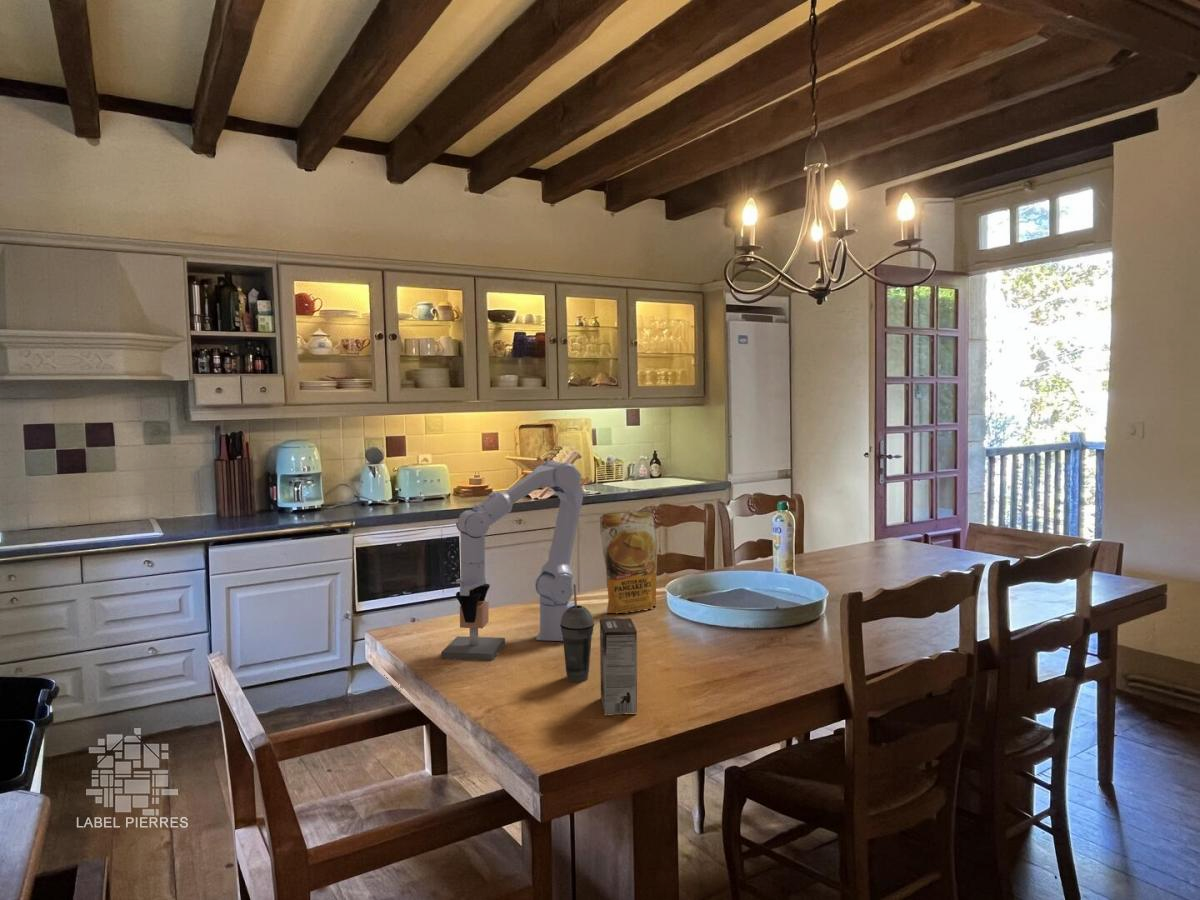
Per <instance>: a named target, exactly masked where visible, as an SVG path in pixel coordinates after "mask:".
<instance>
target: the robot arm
mask: <svg viewBox="0 0 1200 900" xmlns="http://www.w3.org/2000/svg"><path fill="white" fill-rule="evenodd" d="M581 476H582V474H581V472H580V471H579V469H577V468H576V466H575V465H574V464H572V463H570V462H561V461H555V460H547V461H545V462H544V463H543V464H541V465H539V466H537V467H535V468H534V470H533V471H532V472H530V473H529V474H528V475H526V476H525V477H523V478H522V479H521V480H519V481H518V482H517V483H516V484H514V485H513V486H512V487H510V488H509V489H508V490H506V491H505V492H502V491H496V492H491V493H489V494H488V498H486V499H485V500H483V501H482V502H480V503H479V504H473V506H472V510H471V509H469V510H465V511H462V512H461V513H460V515H459V517H458V518H457V521H456V522H455V526H456V528H457V531H458V532H459V533H460V542H459V543H460V545H459V546H460V551H459V552H460V556H459V557H460V578H457V579H456V580H455V583H456V584H459V591H457V592H456V593H455V598H456V599H457V601H458V602H459V606H461V608H462V611H463V615H464V619H465V622H468V623H474V622H475V618H476V610H477V604H478V601H485V600H486V597H487V594H488V591H489V589H490V586H491V585H490V583H487V579H486V542H485V540H486V538H485V535H486V534H487V533H488V530H489V528H490V526H492V525H493V524H495V523H496V522H498V521H499V520H500V519H502V518H503V517H506V515H508V514H509V513H511V512H512V510H513V505H514V504H516V503H517V502H519V501H520V500H521V499H523V498H525V497H526V496H528V495H529V494H531V493H534V492H535V491H536V490H537V489H539V488H550V489H551V490H553V491H554V493H555V494H556V496H557V498H559V500H560V502H559V507H558V512H557V516H556V521H555V526H554V531H553V535H552V539H551V540H552V541H551V545H550V550H549V554H548V555H549V556H548V560H547V561H546V562H545V564H543V566H542V567H541V570H540V573H539V575H538V576H537V578H536V579H535V584H534V588H535V591H536V593H537V594H538V595H539V632H538V634H537V636H536V637H535V640H536V641H550V642H552V641H553V642H563V635H562V631H561V627H560V624H561V619H562V616H563V614H564V612H565V611H566V610H567V609H568V608H570V607H572V606H575V604H574V601H570V599H571V598H572V596H573V595H574V586H573V585H574V584H573V577H574V575H573V572H572V569H571V566H570V562H571V559H572V558H571V557H572V554H573V548H574V544H575V539H576V534H577V529H578V523H579V521H580V520H579V519H580V515H581V509H582V505H583V499H584V494H583V489H582V485H581V481H580V480H581Z"/></svg>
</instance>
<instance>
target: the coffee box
mask: <svg viewBox="0 0 1200 900" xmlns="http://www.w3.org/2000/svg"><path fill="white" fill-rule="evenodd" d="M599 635H600V636H599V640H600V641H599V642H600V643H599V644H600V645H599V646H600V647H599V653H600V657H599V659H600V662H599V663H600V669H599V670H600V700H601V703H602V704H601V705H602V709H604V710H603V713H604V715H605V714H625V713H636V712H637V710H638V705H637V704H638V700H637V698H638V696H637V695H638V693H637V692H638V678H637V677H638V631H637V629H636V627H635V624H634V622H633V620H632V618H631V617H628V618H620V617H619V618H618V617H607V618H606V617H605V618H599Z"/></svg>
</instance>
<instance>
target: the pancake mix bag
mask: <svg viewBox="0 0 1200 900" xmlns="http://www.w3.org/2000/svg"><path fill="white" fill-rule="evenodd" d="M599 525H600V526H599V527H600V536H601V541H602V543H601V544H602V553H603V560H604V564H605V571H606V572H605V573H606V574H605V575H606V577H605V578H606V589H607V596H608V600H607V601H608V603H607V608H606V614H607V613H616V614H615V615H619V614H618V613H625V614H627V613H626V612H631V611H638V610H644V609H651V608H653V606H656V607H658V606H657V605H658V604H657V599H656V598H657V583H658V581H657V571H658V570H657V569H658V566H657V565H658V554H657V550H658V546H657V545H658V544H657V543H658V541H657V532H656V523H655V517H654V513H651V510H639V511H620V512H618V511H617V512H610V513H603V514H601V516H600V517H599ZM653 609H654V608H653Z"/></svg>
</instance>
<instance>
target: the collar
mask: <svg viewBox="0 0 1200 900" xmlns="http://www.w3.org/2000/svg"><path fill="white" fill-rule="evenodd" d="M489 615H490V613H489V601H487V600H486V601H478V604H477V610H476V618H475V622H474V623H468V622H465V619H464V615H463V611H462V608H461V605H459V628H460V629H470V628H478V629H484V627H486V626H487V624H488V623H489Z"/></svg>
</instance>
